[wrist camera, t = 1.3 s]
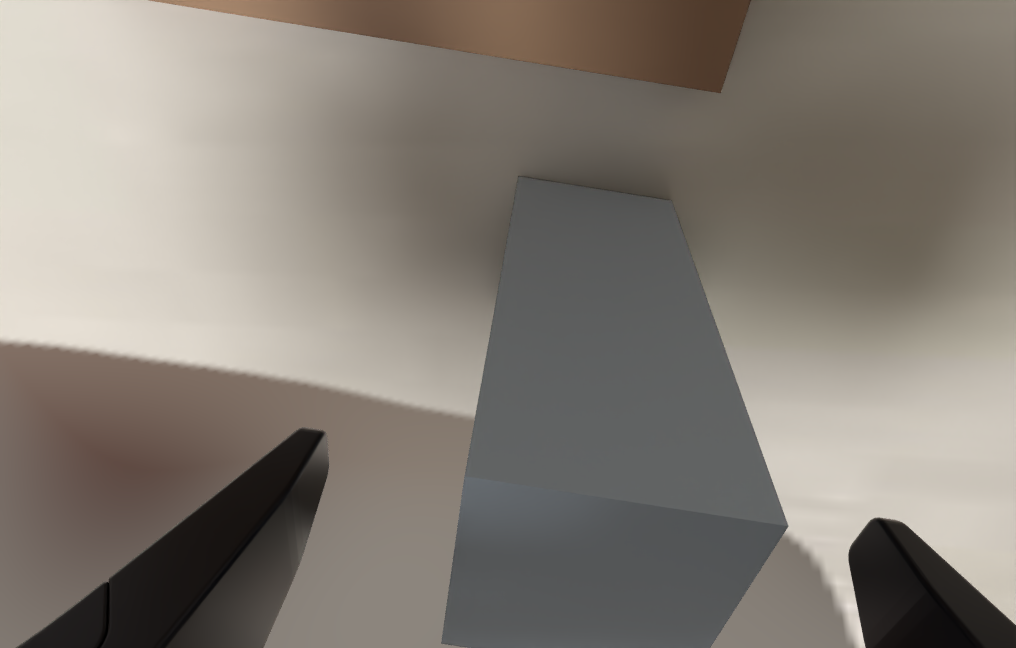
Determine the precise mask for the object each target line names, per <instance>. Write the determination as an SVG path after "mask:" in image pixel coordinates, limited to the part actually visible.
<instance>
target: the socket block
mask: <svg viewBox="0 0 1016 648" xmlns="http://www.w3.org/2000/svg"><path fill="white" fill-rule="evenodd" d="M150 1H156V2H162V3H169V4H175V5H181V6H187V7H193V8H199V9H205V10H212V11H218V12H224V13H230V14H236V15H242V16H249V17H255V18H261V19H267V20H273V21H279V22H286V23H292V24H298V25H304V26H310V27H316V28H322V29H329V30H335V31H341V32H347V33H353V34H359V35H366V36H372V37H378V38H384V39H390V40H396V41H402V42H409V43H415V44H421V45H427V46H433V47H439V48H446V49H452V50H458V51H464V52H470V53H476V54H482V55H489V56H495V57H501V58H507V59H513V60H519V61H526V62H532V63H538V64H544V65H550V66H556V67H562V68H569V69H575V70H581V71H587V72H593V73H599V74H606V75H612V76H618V77H624V78H630V79H636V80H643V81H649V82H655V83H661V84H667V85H673V86H679V87H686V88H692V89H698V90H704V91H710V92H716V93H721V90H722V87H723V84H724V81H725V78H726V75H727V72H728V69H729V66H730V62H731V59H732V56H733V53H734V50H735V47H736V44H737V41H738V38H739V35H740V32H741V29H742V26H743V22H744V19H745V16H746V13H747V10H748V7H749V4H750V1H751V0H150Z"/></svg>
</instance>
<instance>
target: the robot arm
mask: <svg viewBox="0 0 1016 648" xmlns="http://www.w3.org/2000/svg"><path fill="white" fill-rule="evenodd" d="M328 469H329V457H328V439H327V434H326V432H325V431H323V430H319V429H313V428H306V427H302V428H299V429H298V430H296V431H295V432H294V433H292V434H291V435H290V436H288V437H287V438H286V439H285V440H283V441H282V442H281V443H280V444H278V445H277V446H276V447H275V448H273V449H272V450H271V451H269V452H268V453H267V454H266V455H264V456H263V457H262V458H261V459H259V460H258V461H257V462H256V463H254V464H253V465H252V466H250V467H249V468H248V469H247V470H246V471H244V472H243V473H242V474H240V475H239V476H238V477H237V478H235V479H234V480H233V481H231V483H229V484H228V485H226V486H225V487H224V488H223V489H221V490H220V491H219V492H217V493H216V494H215V495H214V496H212V497H211V498H210V499H209V500H207V501H206V502H205V503H203V504H202V505H201V506H200V507H198V508H197V509H196V510H195V511H193V512H192V513H191V514H190V515H188V516H187V517H186V518H184V519H183V520H182V521H181V522H179V523H178V524H177V525H176V526H174V527H173V528H172V529H171V530H169V531H168V532H167V533H165V534H164V535H163V536H162V537H160V538H159V539H158V540H156V541H155V542H154V543H153V544H152V545H150V546H149V547H148V548H146V549H145V550H144V551H143V552H141V553H140V554H139V555H137V556H136V557H135V558H134V559H132V560H131V561H130V562H129V563H127V564H126V565H125V566H123V567H122V568H121V569H120V570H118V571H117V572H116V573H115V574H113V575H112V576H111V577H110V578H109V583H108V582H103V583H102V584H100V585H99V586H98V587H97V588H95V589H94V590H93V591H91V592H90V593H89V594H88V595H86V596H85V597H84V598H83V599H81V600H80V601H79V602H77V603H76V604H75V605H73V606H72V607H71V608H70V609H68V610H67V611H65V612H64V613H63V614H62V615H60V616H59V617H58V618H56V619H55V620H54V621H52V622H51V623H50V624H48V625H47V626H46V627H44V628H43V629H42V630H40V631H39V632H38V633H36V634H35V635H34V636H32V637H30V638H29V639H28V640H26V641H25V642H23V643H22V644H20V645H19V646H18V647H16V648H263V647H264V645H265V643H266V641H267V638H268V636H269V634H270V632H271V629H272V627H273V625H274V622H275V620H276V618H277V616H278V613H279V611H280V609H281V607H282V604H283V602H284V600H285V597H286V595H287V593H288V591H289V588H290V586H291V584H292V582H293V579H294V577H295V575H296V572H297V570H298V567H299V565H300V561H301V559H302V555H303V553H304V550H305V546H306V543H307V540H308V537H309V534H310V530H311V527H312V524H313V521H314V518H315V514H316V511H317V508H318V504H319V502H320V498H321V495H322V492H323V489H324V486H325V482H326V479H327V475H328ZM849 566H850V571H851V576H852V581H853V586H854V591H855V597H856V602H857V607H858V612H859V617H860V622H861V627H862V633H863V638H864V642H865V647H866V648H1016V625H1015V624H1014V623H1013V622H1012V621H1011V620H1010V619H1008V618H1007V617H1006V616H1005V615H1004V614H1003V613H1002V612H1001V611H1000V610H999V609H998V608H996V607H995V606H994V605H993V604H992V603H991V602H990V601H989V600H988V599H987V598H985V597H984V596H983V595H982V594H981V593H980V592H979V591H978V590H977V589H976V588H975V587H973V586H972V585H971V584H970V583H969V582H968V581H967V580H966V579H965V578H964V577H962V576H961V575H960V574H959V573H958V572H957V571H956V570H955V569H954V568H953V567H952V566H950V565H949V564H948V563H947V562H946V561H945V560H944V559H943V558H942V557H941V556H939V555H938V554H937V553H936V552H935V551H934V550H933V549H932V548H931V547H930V546H929V545H927V544H926V543H925V542H924V541H923V540H922V539H921V538H920V537H919V536H918V535H916V534H915V533H914V532H913V531H912V530H911V529H910V528H909V527H908V526H906V525H905V524H904V523H902V522H900V521H897V520H891V519H885V518H874V519H872V520H870V521H869V522H868V524H867V525H866V526H865V528H864V529H863V530H862V532H861V533H860V534H859V536H858V537H857V538H856V539H855V541H854V542H853V543H852V545H851V547H850V549H849Z"/></svg>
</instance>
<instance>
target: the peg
mask: <svg viewBox="0 0 1016 648" xmlns="http://www.w3.org/2000/svg"><path fill="white" fill-rule="evenodd" d="M787 528H788V524H787V521H786V518H785V515H784V513H783V510H782V507H781V504H780V502H779V499H778V496H777V493H776V490H775V488H774V485H773V482H772V479H771V476H770V474H769V471H768V468H767V465H766V462H765V460H764V457H763V454H762V451H761V449H760V446H759V443H758V440H757V437H756V435H755V432H754V429H753V426H752V423H751V421H750V418H749V415H748V412H747V410H746V407H745V404H744V401H743V398H742V396H741V393H740V390H739V387H738V384H737V382H736V379H735V376H734V373H733V370H732V368H731V365H730V362H729V359H728V357H727V354H726V351H725V348H724V345H723V343H722V340H721V337H720V334H719V331H718V329H717V326H716V323H715V320H714V318H713V315H712V312H711V309H710V306H709V304H708V301H707V298H706V295H705V292H704V290H703V287H702V284H701V281H700V278H699V276H698V273H697V270H696V267H695V265H694V262H693V259H692V256H691V253H690V251H689V248H688V245H687V242H686V239H685V237H684V234H683V231H682V228H681V226H680V223H679V220H678V217H677V214H676V212H675V209H674V206H673V203H672V201H670V200H664V199H658V198H651V197H645V196H639V195H633V194H626V193H620V192H614V191H608V190H602V189H595V188H589V187H583V186H577V185H570V184H564V183H558V182H552V181H545V180H539V179H533V178H527V177H520V176H518V182H517V188H516V193H515V199H514V204H513V210H512V215H511V221H510V227H509V232H508V238H507V243H506V249H505V254H504V260H503V266H502V271H501V277H500V282H499V288H498V293H497V299H496V305H495V310H494V316H493V321H492V327H491V332H490V338H489V344H488V349H487V355H486V360H485V366H484V371H483V377H482V383H481V388H480V394H479V399H478V405H477V410H476V416H475V421H474V428H473V433H472V438H471V444H470V450H469V455H468V460H467V466H466V472H465V477H464V485H463V492H462V500H461V506H460V513H459V520H458V528H457V535H456V542H455V549H454V557H453V563H452V571H451V579H450V585H449V592H448V599H447V606H446V613H445V621H444V628H443V635H442V642H441V643H442V644H448V645H454V646H460V647H467V648H710V647H711V645H712V644H713V642H714V641H715V639H716V638H717V636H718V635H719V633H720V632H721V630H722V628H723V627H724V625H725V624H726V622H727V621H728V619H729V618H730V616H731V615H732V613H733V611H734V610H735V608H736V607H737V605H738V604H739V602H740V601H741V599H742V597H743V596H744V594H745V593H746V591H747V590H748V588H749V587H750V585H751V583H752V582H753V580H754V579H755V577H756V576H757V574H758V573H759V571H760V570H761V568H762V566H763V565H764V563H765V562H766V560H767V559H768V557H769V556H770V554H771V552H772V551H773V549H774V548H775V546H776V544H777V543H778V542H779V540H780V538H781V537H782V535H783V534H784V532H785V531H786V529H787Z"/></svg>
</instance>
